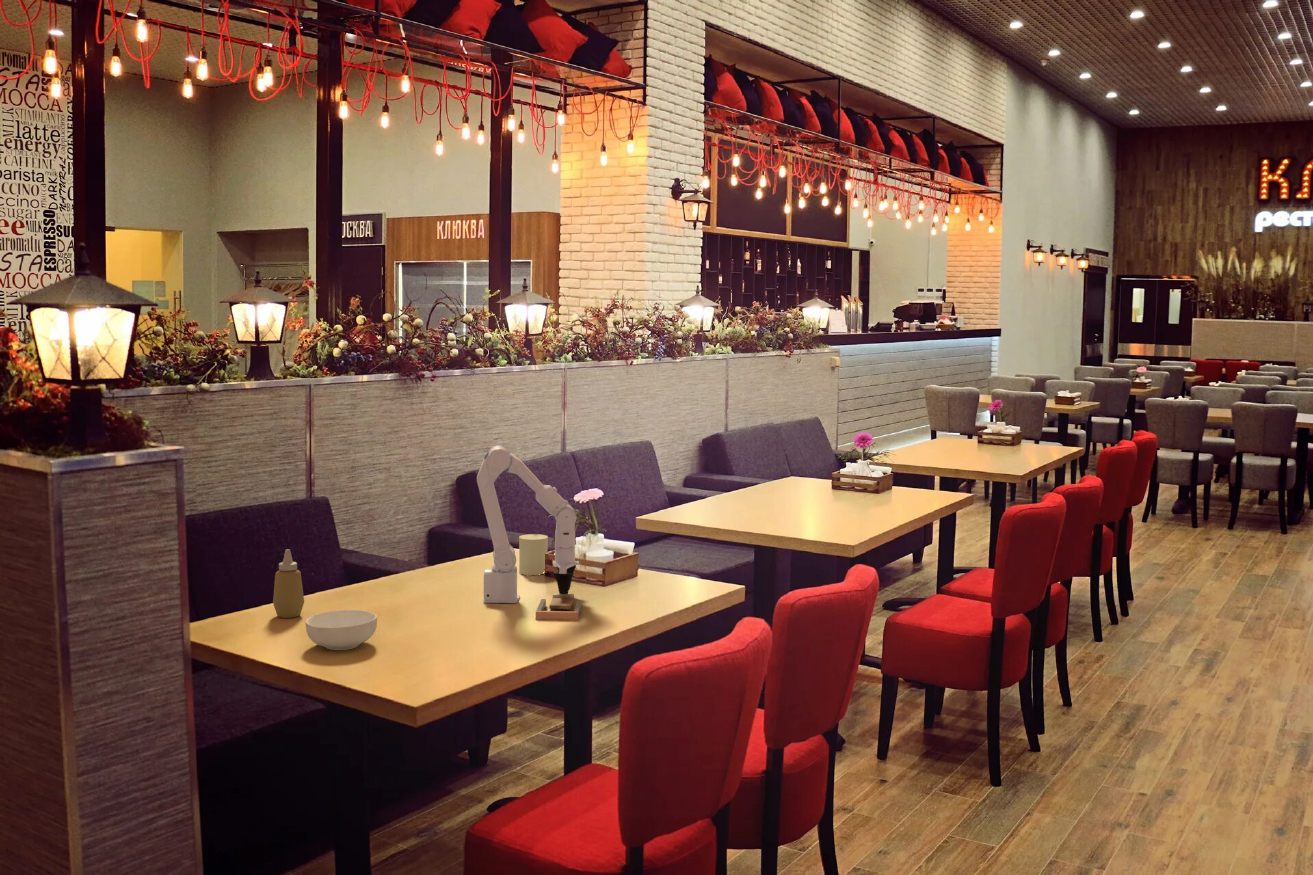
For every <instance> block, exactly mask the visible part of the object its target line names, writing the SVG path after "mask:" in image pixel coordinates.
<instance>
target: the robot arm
mask: <svg viewBox="0 0 1313 875" xmlns="http://www.w3.org/2000/svg"><path fill="white" fill-rule="evenodd" d="M504 471H506V472H507V473H510V474H515V475H517V477H519V478H520V479H521V480H522V481H523V482H524V483H525V484H526V485H527V486H528V487H529V488H531V490H533V492H534V493H535V500H536V501H537V502H538V504H540V505H541V507H542V508H544V510H546V512H547V513H548V514H549V515H551V516H553V517H554V519H555V521H556V522H555V530H554V531H555V532H554V543H555V544H554V566H555V567H556V569H557V571H553V576H554V579H555V581H556V584H557V588H558V594H569V591H570V589H571V585H572V579H573V576H574V571H575V570H576V568H577V565H580V561H579V560H577V561H576V531H575V528H576V525H575V524H576V521H577V514H576V511H575V510H574V508H573V507H572V505H571V504H569V501H568V500H567V499H564V498H563V497H562V496H561V495H560V494H559V493H558V489H557V487H555V486H553V487H552V485H549V484H547V485H546V484H543V483H542V482H541V481H540V480H539V479H538V477H537V476H536V474H534V473H533V472H532V471H531V470H530V468H528V467H527V465H526V464H525V463H524V462H523V461H522V460H521V459H520V458H519V457H517V456H516V455H515V454H513V453H512V452H511V451H509V450H508V449H507V447H505V446H503V445H500V444H498V445H497V444H496V445H493V446H492V447H491V448H490V449H489V450H488V451H487V452H486V453H485V454H484V457H483V459H482V462H481V465H480V467H479V469H478V472H477V475H476V484H477V487H478V490H479V495H480V499H481V504H482V506H483V510H484V514H485V518H486V521H487V525H488V530H489V534H490V538H491V541H492V545H493V551H492V552H493V553H492V557H493V566H491V568H488V569H487V568H486V569H484V571H483V572H484V573H483V601H482V602H483V603H485V604H487V603H492V604H495V603H496V604H499V603H500V604H502V603H503V604H508V603H509V604H517V603H518V601H519V599H520V597H521V595H520V594H518V567H517V566H516V564H517V556H516V554H515V548H514V547H513V546H512V545H511V543H510V542H509V538H508V533H507V530H506V527H505V522H504V519H503V518H504V517H503V515H502V510H501V506H500V503H499V500H498V496H497V491H496V488H495V482H496V480H497V479H498V478H499V476H500V474H502V473H503V472H504Z"/></svg>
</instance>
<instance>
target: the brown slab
mask: <svg viewBox="0 0 1313 875" xmlns="http://www.w3.org/2000/svg"><path fill="white" fill-rule="evenodd" d="M574 602H575V594H574V593H568V594H559V593H552V597H551V601H550V603H549V606H548V607H549V609H550V611H555V610H567V611H571V610H572V608H573V604H574Z"/></svg>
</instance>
